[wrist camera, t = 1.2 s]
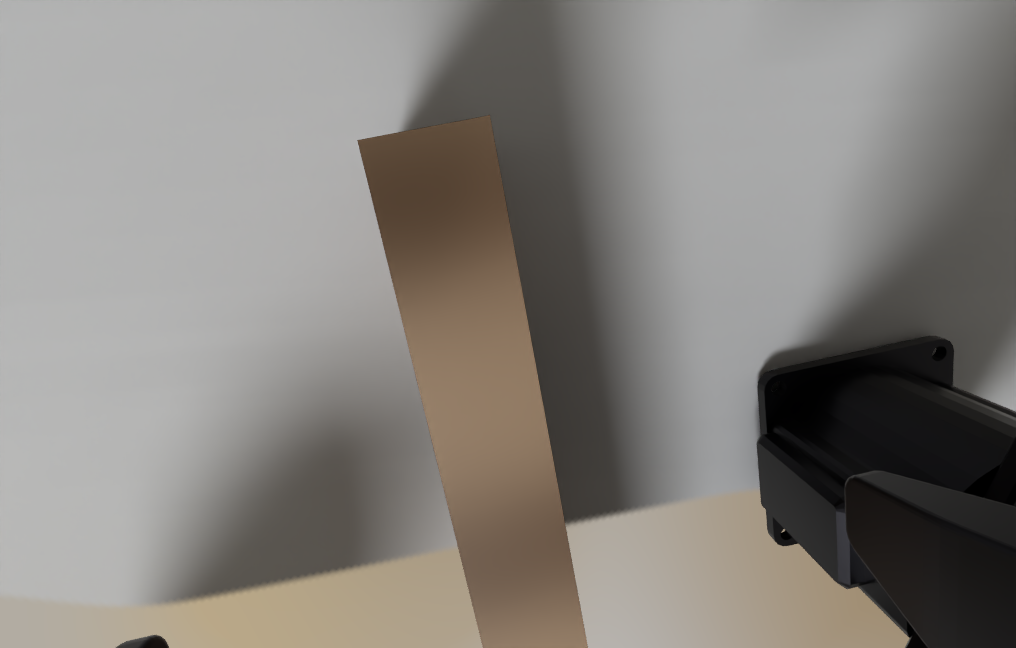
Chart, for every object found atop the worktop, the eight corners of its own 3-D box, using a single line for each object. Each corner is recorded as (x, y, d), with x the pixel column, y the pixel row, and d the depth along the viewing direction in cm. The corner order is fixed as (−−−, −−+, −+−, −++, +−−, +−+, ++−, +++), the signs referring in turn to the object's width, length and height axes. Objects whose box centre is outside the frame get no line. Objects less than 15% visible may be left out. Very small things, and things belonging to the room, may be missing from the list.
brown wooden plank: (392, 155, 16) (357, 140, 10) (475, 140, 16) (489, 115, 10) (508, 657, 20) (531, 846, 15) (572, 642, 20) (620, 823, 15)
